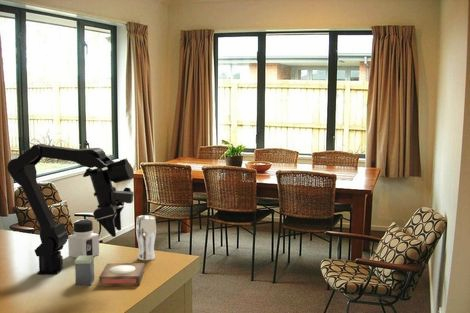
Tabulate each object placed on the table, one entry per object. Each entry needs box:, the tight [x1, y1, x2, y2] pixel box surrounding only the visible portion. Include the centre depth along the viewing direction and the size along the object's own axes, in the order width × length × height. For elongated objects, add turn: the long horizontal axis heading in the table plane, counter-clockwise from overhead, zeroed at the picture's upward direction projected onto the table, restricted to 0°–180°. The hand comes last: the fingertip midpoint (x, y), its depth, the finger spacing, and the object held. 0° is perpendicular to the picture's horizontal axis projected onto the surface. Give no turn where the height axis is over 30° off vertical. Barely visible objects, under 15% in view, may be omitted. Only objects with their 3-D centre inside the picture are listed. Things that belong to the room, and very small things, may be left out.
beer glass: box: [135, 214, 157, 262], centre depth 176 cm, size 7×7×15 cm
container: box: [67, 218, 100, 259], centre depth 179 cm, size 8×8×13 cm
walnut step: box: [98, 262, 145, 287], centre depth 156 cm, size 12×12×3 cm
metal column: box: [74, 256, 95, 287], centre depth 153 cm, size 4×4×8 cm
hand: (117, 233), depth 159 cm, fingers open, 9 cm apart
